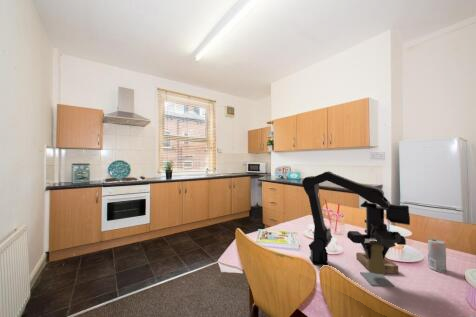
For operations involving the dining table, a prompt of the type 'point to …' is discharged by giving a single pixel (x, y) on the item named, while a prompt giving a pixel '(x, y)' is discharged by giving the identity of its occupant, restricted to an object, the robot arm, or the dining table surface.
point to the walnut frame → (388, 264)
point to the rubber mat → (376, 279)
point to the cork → (376, 258)
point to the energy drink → (437, 255)
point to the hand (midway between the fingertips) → (375, 259)
